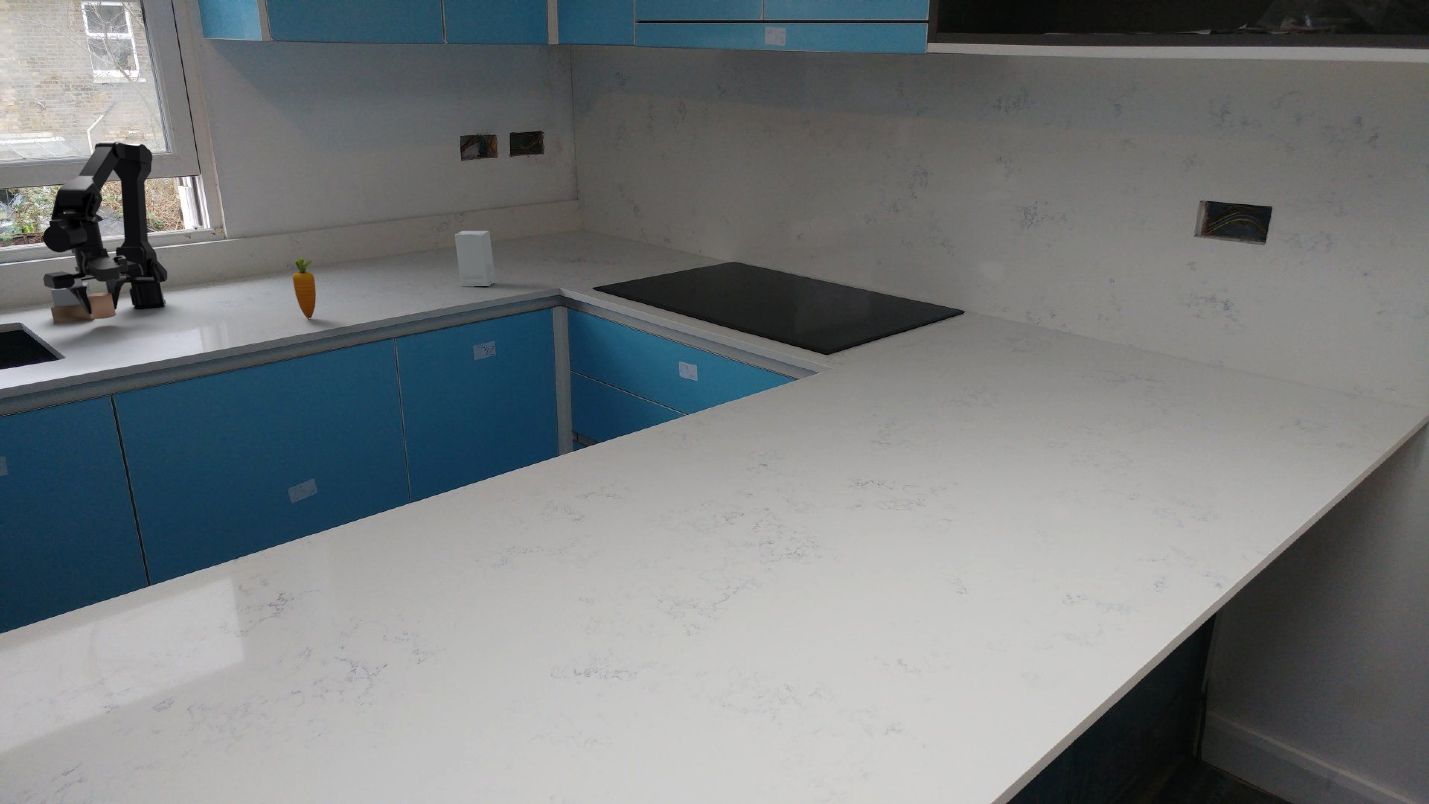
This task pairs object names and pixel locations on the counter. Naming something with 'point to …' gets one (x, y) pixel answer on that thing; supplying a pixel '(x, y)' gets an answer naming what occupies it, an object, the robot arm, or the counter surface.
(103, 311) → the terracotta cylinder
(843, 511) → the counter surface
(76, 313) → the walnut slab
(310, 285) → the carrot
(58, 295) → the slate slab
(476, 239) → the skincare box
